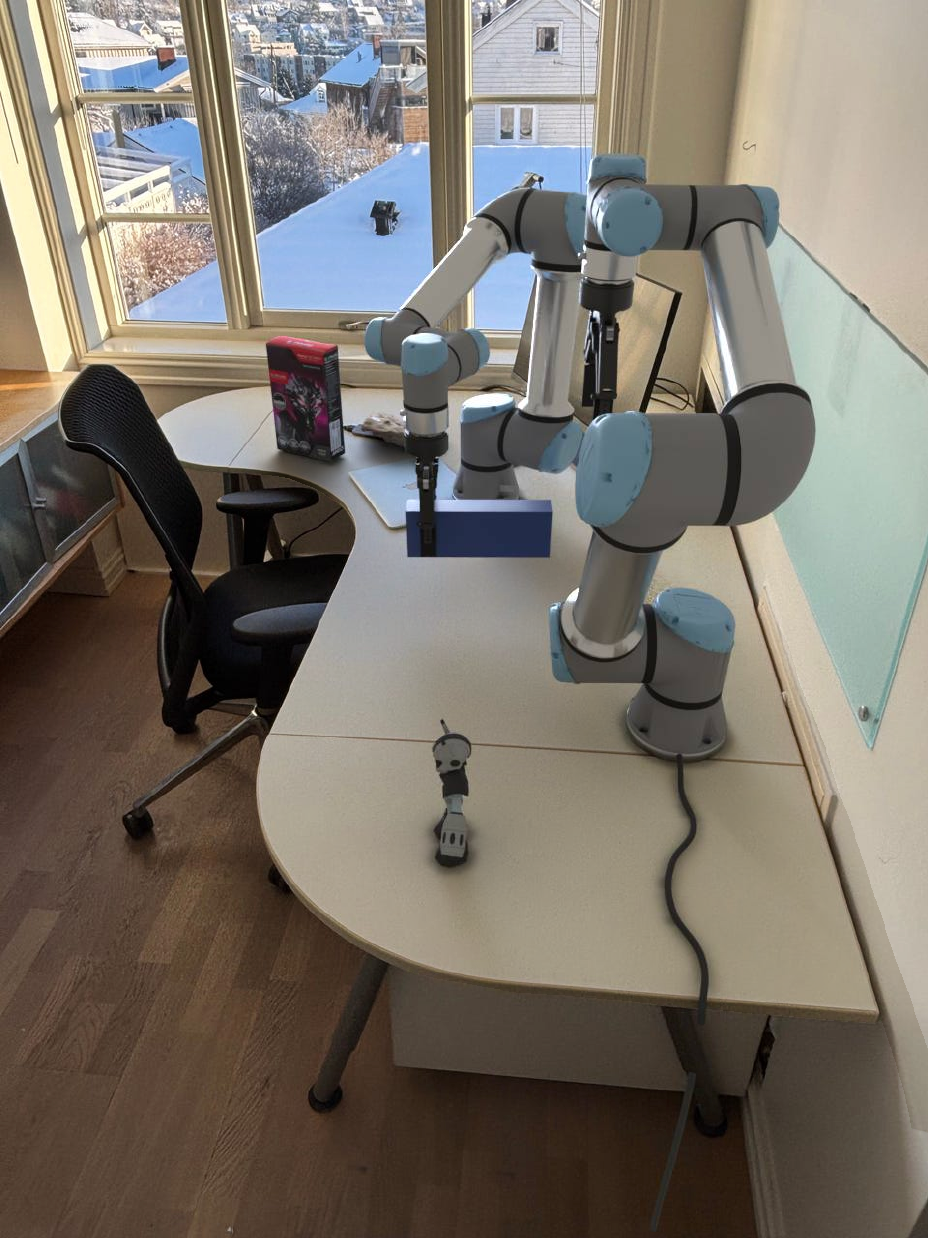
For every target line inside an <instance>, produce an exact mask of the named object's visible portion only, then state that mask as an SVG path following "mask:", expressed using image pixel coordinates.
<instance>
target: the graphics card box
mask: <svg viewBox="0 0 928 1238" xmlns="http://www.w3.org/2000/svg"><path fill="white" fill-rule="evenodd" d="M265 351H266V359H267V368H268V379H269V385H270V395H271V403H272V405H271V406H272V413H273V422H274V430H275V440H276V441H275V442H276V450H280V451H284V452H288V453H291V454H296V455H301V456H305V457H310V458H312V459H313V458H314V459H317V460H322V461H327V462H334V460H336V459H338V458H340V457H341V456H343V455H345V454H346V444H345V442H346V441H345V428H344V415H343V401H342V388H341V373H340V357H339V346H338V344H331V343H324V342H319V341H314V340H309V339H304V338H298V337H293V336H287V335H278V336H275V337H273V338H271V339H270V340H268V341H267V342H265Z"/></svg>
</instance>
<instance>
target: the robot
mask: <svg viewBox="0 0 928 1238" xmlns="http://www.w3.org/2000/svg"><path fill="white" fill-rule="evenodd" d="M439 722H440V725H441V727H442V730H443V733H444V734H442V735H441V736H439V737H438V738H437V739H436V740H435V741H434V742H433V745H432V747H431V752H432V757H433V758H434V761H435V771H436V772H437V773H439V774H438V776H439V779H440V781H441V783H442V785H441V792H442V794H441V795H442V799H443V801H444V802H445V805H446V807H445V808H444V812H443V813H442V816H441V819H440V820H439V821H438V823H437V824H435V826H434V828H433V833H434V834H435V836H436V838H437V839H438V840H439V841H440V842H439V845H438V848H437V849H436V852H435V855H434V859H435V860H436V861H437V862H438V863H439V865H441V866H443V867H447V868H453V867H457V866H459V865H461V864H463V863H466V862H467V859H468V856H469V854H470V853H469V844H468V840H467V837H468V823H467V818H466V815H464V813H463V810H462V806H463V804H464V798H463V797H469V795H470V794H469V793H470V788H469V787H470V786H469V779H468V776H467V774H466V766H467V765H468V762H467V760H468V759H469V758H470V757H471V755H472V749H473V748H472V743H471V741H470V739H468V738H467V736H465V735H464V734H462V733H460V732H457V731H450V729H449V727H448V725H447V723H446V722H445V720H444V719H443V718H441V719H440V720H439Z"/></svg>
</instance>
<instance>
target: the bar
mask: <svg viewBox="0 0 928 1238" xmlns="http://www.w3.org/2000/svg"><path fill="white" fill-rule="evenodd" d="M552 504H553V503H552V500H551V499H519V500H454V499H436V500H434V520H435V523H436V557H435V558H470V559H471V558H473V559H474V558H481V559H483V558H484V559H485V558H486V559H489V558H490V559H491V558H492V559H493V558H496V559H497V558H498V559H499V558H500V559H501V558H503V559H505V558H508V559H511V558H512V559H514V558H515V559H518V558H519V559H523V558H525V559H534V558H536V559H540V558H541V559H550V558H551V548H552V547H551V546H552V531H553V515H554V514H553V513H554V511H553V505H552ZM417 522H420V504H419V499H406V505H405V534H406V535H405V537H406V557H407V558H422V557H421V536H420V527H417V526H416V524H417Z"/></svg>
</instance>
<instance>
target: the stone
mask: <svg viewBox="0 0 928 1238" xmlns="http://www.w3.org/2000/svg"><path fill="white" fill-rule="evenodd" d="M360 430H361V432H363V433H365V432H371V433H373V435H374V436H376V437H378V438H382V439H383V441H384V442H385V443H388V444H392V443H394V444H395V445H398V446H400V447H404V448H405V439H404V432H405V430H406V429H405V427H404V420H400V419H399V417H397V416H396V417H395V416H394V415H393V414H388V413H384V412H379V413H377V414H369V415H368V416H366V419H365V420H364V421H363V423H362V425H361V427H360Z"/></svg>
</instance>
